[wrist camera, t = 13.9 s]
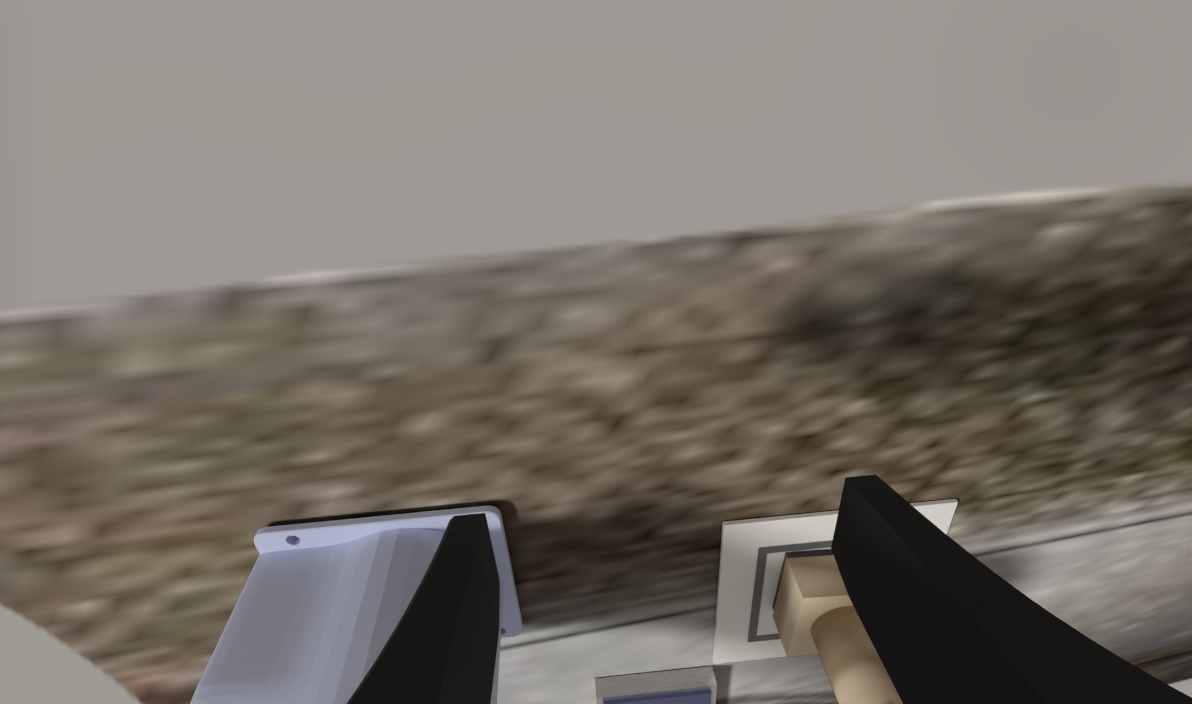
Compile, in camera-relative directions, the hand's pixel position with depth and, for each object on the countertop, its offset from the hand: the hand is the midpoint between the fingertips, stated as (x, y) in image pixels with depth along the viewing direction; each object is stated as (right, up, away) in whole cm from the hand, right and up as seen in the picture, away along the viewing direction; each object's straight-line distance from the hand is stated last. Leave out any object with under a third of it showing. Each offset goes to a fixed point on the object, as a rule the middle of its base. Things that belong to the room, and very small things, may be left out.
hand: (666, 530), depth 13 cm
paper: (+9, -7, +17) cm, 20 cm away
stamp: (+9, -7, +16) cm, 19 cm away
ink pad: (+2, -15, +21) cm, 26 cm away
